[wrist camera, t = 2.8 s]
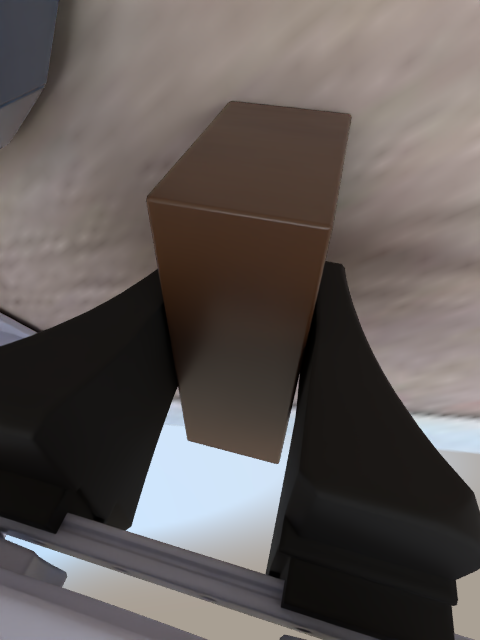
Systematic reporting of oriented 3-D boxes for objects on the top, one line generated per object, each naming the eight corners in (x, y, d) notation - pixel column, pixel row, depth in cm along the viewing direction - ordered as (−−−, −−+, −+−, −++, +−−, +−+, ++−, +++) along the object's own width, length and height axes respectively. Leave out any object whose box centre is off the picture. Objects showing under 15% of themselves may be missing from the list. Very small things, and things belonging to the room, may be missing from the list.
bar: (302, 345, 15) (278, 465, 12) (229, 330, 16) (186, 441, 12) (352, 113, 9) (333, 227, 6) (229, 100, 9) (143, 197, 6)
